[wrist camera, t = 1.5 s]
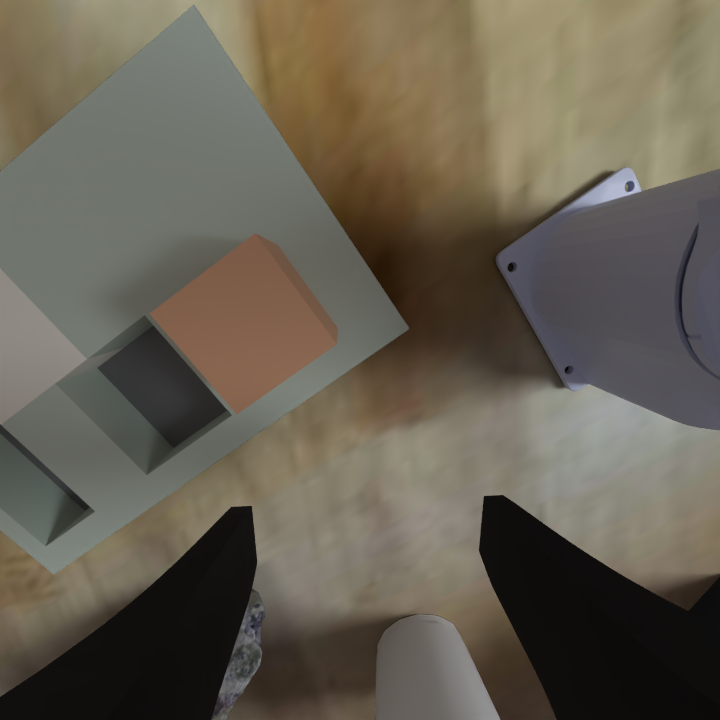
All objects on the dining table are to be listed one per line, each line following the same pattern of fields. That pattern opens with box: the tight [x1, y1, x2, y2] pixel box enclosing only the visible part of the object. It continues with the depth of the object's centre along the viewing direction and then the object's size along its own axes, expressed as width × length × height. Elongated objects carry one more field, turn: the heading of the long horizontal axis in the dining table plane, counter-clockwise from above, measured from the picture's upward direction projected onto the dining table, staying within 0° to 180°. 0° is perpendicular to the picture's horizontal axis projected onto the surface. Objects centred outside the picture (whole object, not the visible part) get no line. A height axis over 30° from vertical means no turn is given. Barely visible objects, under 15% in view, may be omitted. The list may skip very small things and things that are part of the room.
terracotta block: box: [150, 233, 338, 414], centre depth 14 cm, size 4×4×4 cm
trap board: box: [0, 5, 409, 574], centre depth 17 cm, size 15×23×3 cm, turn 125°
